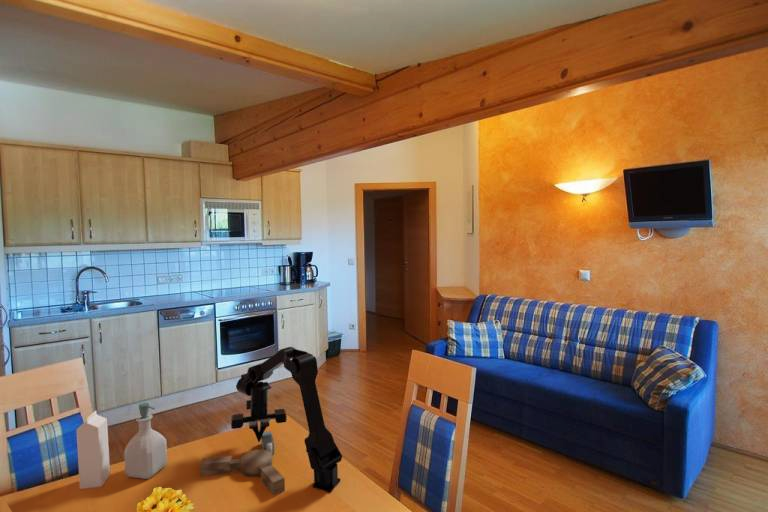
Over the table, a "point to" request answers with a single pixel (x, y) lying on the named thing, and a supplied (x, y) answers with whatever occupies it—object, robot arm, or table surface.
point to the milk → (93, 452)
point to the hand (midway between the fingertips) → (259, 441)
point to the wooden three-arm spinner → (247, 468)
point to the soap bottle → (145, 448)
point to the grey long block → (267, 442)
